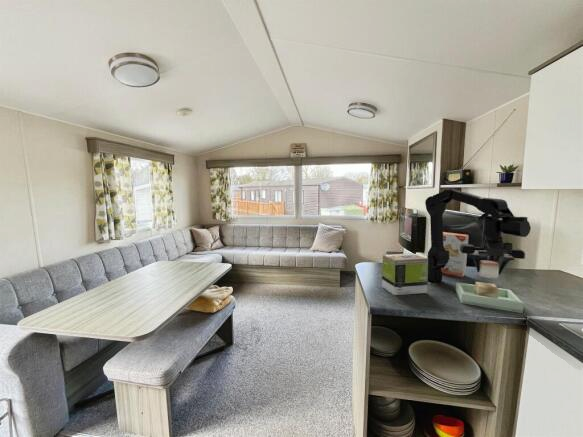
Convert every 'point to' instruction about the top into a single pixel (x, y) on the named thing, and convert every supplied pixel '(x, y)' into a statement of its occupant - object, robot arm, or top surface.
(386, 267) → the tea box
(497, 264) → the cream tub
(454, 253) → the cracker box
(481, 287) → the oak block
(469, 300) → the green tote
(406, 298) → the top surface
